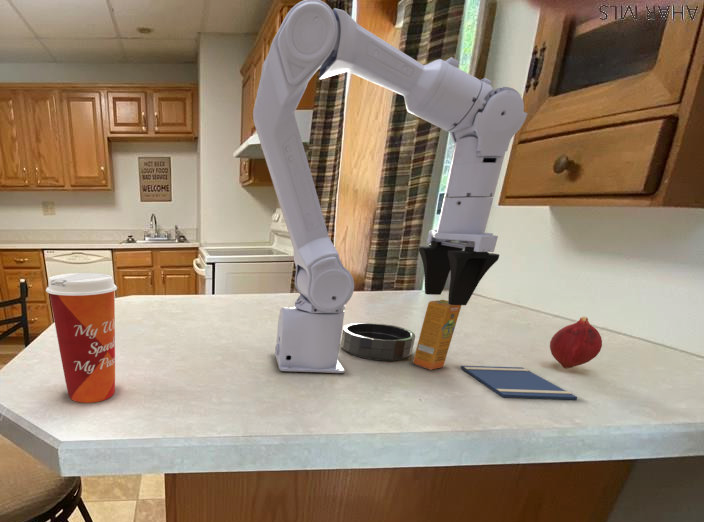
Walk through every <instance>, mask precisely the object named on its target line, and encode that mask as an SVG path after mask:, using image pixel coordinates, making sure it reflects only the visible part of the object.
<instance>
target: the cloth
mask: <svg viewBox="0 0 704 522" xmlns="http://www.w3.org/2000/svg"><path fill="white" fill-rule="evenodd" d="M460 369H462V370H463V371H464V372H466V373H467V374H469V375H470V376H472V377H473V378H474V379H475V380H477V381H479V382H480V383H482V384H483V385H485V386H486V387H487V388H489V389H490V390H492V391H493V392H494V393H496V394H497V395H499V396H501V397H502V398H511V399H512V398H513V399H515V398H516V399H539V400H540V399H542V400H546V399H547V400H568V401H570V400H572V401H576V400H577V399H578V397H577V396H576V395H574V394H573V393H572V392H570V391H569V390H567V391H566V390H565V389H563V388H561V387H559V386H557V385H556V384H554V383H552V382H551V381H549V380H546V379H545V378H543V377H541V376H539V375H537V374H535V373H534V372H532V371H531V370H530V369H529V368H524V367H523V366H522V367H517V366H487V365H486V366H485V365H460Z"/></svg>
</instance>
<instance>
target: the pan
mask: <svg viewBox="0 0 704 522" xmlns="http://www.w3.org/2000/svg"><path fill="white" fill-rule="evenodd" d="M415 339H416V333H414V332H413V331H412V330H410V329H407V328H404V327H401V326H397V325H392V324H387V323H386V324H385V323H378V322H377V323H376V322H355V323H350V324H349V323H348V324H346V325H344V326H343V327H342V333H341V340H340V347H341V348H342V349H343V350H344V351H345V352H346V353H348V354H350V355H353V356H355V357H358V358H363V359H367V360H373V361H384V362H387V361H400V360H403V359H406V358H407V357H409V356H411V355H412V354H413V350H414V346H415V345H414V344H415Z"/></svg>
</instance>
